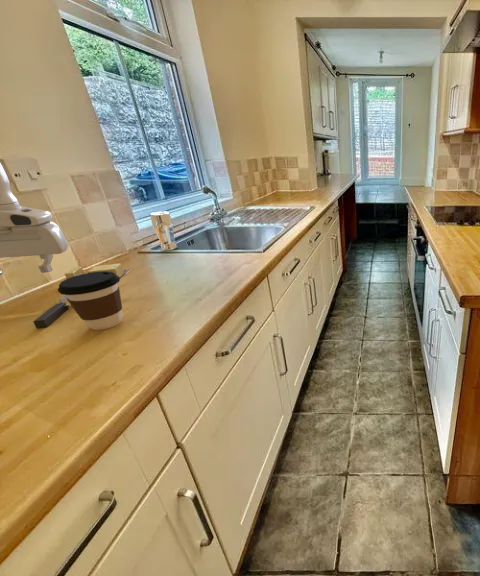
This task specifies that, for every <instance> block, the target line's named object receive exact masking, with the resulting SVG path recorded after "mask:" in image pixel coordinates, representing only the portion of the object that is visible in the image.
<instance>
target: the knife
mask: <svg viewBox="0 0 480 576" xmlns="http://www.w3.org/2000/svg"><path fill="white" fill-rule="evenodd" d="M58 302H59V303H55V304H54V305H53V306H51V307H50V308H49V309H47V310H46V311H45V312H43V313H42V314H41V315H39V316H38V317H37V318H36V319H34V320H33V321H32V323H33V325H34V326H35V328H36V329H42V328H43V329H44V328H48V327H49V326H50V325H51V324H53V323H54V322H55V321H56V320H57V319H59V318H60V317H61V316H62V315H63V314H65V313H66V312H67V311H68V310H69V307H70V306H71V304H68V305H67V302H69V301H68V300H67V297H66V296H65V295H63V296H62V297H60V298H59V299H58Z"/></svg>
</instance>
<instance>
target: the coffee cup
mask: <svg viewBox="0 0 480 576" xmlns="http://www.w3.org/2000/svg"><path fill="white" fill-rule="evenodd" d="M120 280H121V279H120V278H119V276H117V275H116V274H115V273H113V272H108V271H101V272H92V273H88V272H87V273H86V272H85V273H84V274H81V275H77V276H74V277H71V278H68V279H67V278H66V279H64V280H62V281H61V282H60V283H59V284H58V288H57V292H58V293H59V294H60V295H63V296H64V295H65V296H66V297H67V300H68V301H67V302H68V304H69V305H70V306H71V307H72V309H73V310H74V311H75V313H76V314H77V316H78V317H79V318H80V319H81V320H82V321H83V322H84V323H85V326H86V327H88V328H89V329H91V330H92V331H102V330H107V329H111V328H113V327H116V326H117V325H120V324H121V323H122V322H123V304H122V303H123V302H122V297H121V291H120V286H119V284H118V283H120Z"/></svg>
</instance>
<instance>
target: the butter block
mask: <svg viewBox="0 0 480 576" xmlns="http://www.w3.org/2000/svg"><path fill="white" fill-rule="evenodd" d="M124 270H125V269H124V267H123V264H122V263H111V264H101V265H95V266H93V267H92V268H90V269H89V270H88V271H87V273H92V272H101V271H108V272H113V273H115V274H116V275H117V276H119V278H120V277H121V276H122V275H123V274H124Z"/></svg>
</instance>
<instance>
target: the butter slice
mask: <svg viewBox="0 0 480 576" xmlns="http://www.w3.org/2000/svg"><path fill="white" fill-rule="evenodd" d="M81 274H85V272H84V270H83V267H82V266H80V267H73V268H71V269H69V270H68V271H67V272H64V276H65V278H66V279H68V278H71V277H74V276H77V275H81Z"/></svg>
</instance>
